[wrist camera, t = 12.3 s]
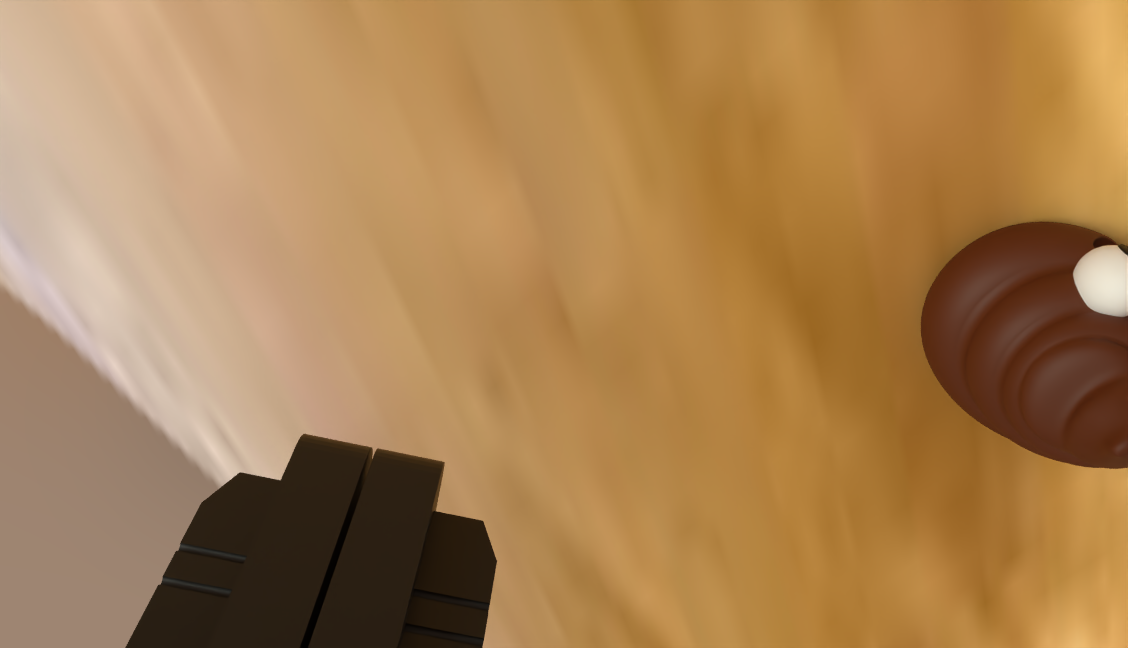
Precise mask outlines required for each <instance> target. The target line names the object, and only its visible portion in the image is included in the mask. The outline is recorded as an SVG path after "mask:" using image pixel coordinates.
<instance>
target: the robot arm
mask: <svg viewBox="0 0 1128 648" xmlns="http://www.w3.org/2000/svg"><path fill="white" fill-rule="evenodd" d="M372 454H373V450H372V448H371V447H367V446H362V445H357V444H352V443H347V442H342V441H337V440H332V439H327V438H322V437H318V436H313V435H308V434H303V435H302V436H301V437H300V439H299V441H298V443H297V445H296V447H295V449H294V451H293V454H292V456H291V458H290V460H289V463H288V465H287V467H286V470H285V472H284V474H283V476H282V479H281V481H280V480H275V479H270V478H266V477H261V476H256V475H251V474H246V473H241V472H240V473H239V474H237V475H236V476H235V477H233V478H232V479H231V480H230V481H228V482H227V483H226V484H225V485H223V486H222V487H221V488H220V489H218V490H217V491H216V492H215V493H213V494H212V495H211V496H210V497H209V498H207V499H206V500H204V501H203V502H202V503H201V505H200V507H199V509H198V511H197V512H196V514H195V516H194V518H193V520H192V522H191V524H190V526H189V528H188V529H187V532H186V533H185V535H184V537H183V539H182V541H181V543H180V548H179V550H178V551H176V552H175V554H174V556H173V558H172V560H171V562H170V564H169V566H168V568H167V569H166V571H165V573H164V575H163V580H162V583H161V585H158V587H157V589H156V590H155V592H154V594H153V596H152V598H151V600H150V602H149V604H148V606H147V608H146V609H145V611H144V613H143V615H142V617H141V619H140V621H139V623H138V625H137V627H136V628H135V630H134V632H133V634H132V636H131V638H130V640H129V642H128V644H127V646H126V648H483V647H482V646H483V641H484V636H485V630H486V624H487V618H488V610H489V605H490V599H491V593H492V587H493V581H494V575H495V569H496V563H497V560H496V557H495V554H494V551H493V549H492V546H491V543H490V540H489V537H488V534H487V531H486V528H485V525H484V522H483V521H481V520H476V519H471V518H466V517H461V516H456V515H451V514H446V513H441V512H436V507H437V502H438V497H439V491H440V486H441V481H442V476H443V470H444V463H445V462H442V461H437V460H432V459H427V458H422V457H417V456H412V455H407V454H403V453H398V452H393V451H388V450H383V449H377V450H376V452H375V454H374V456H373V459H372Z"/></svg>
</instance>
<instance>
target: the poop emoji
mask: <svg viewBox="0 0 1128 648" xmlns="http://www.w3.org/2000/svg"><path fill="white" fill-rule="evenodd" d="M921 336H922V343H923V347H924V351H925V354H926V357H927V360H928V362H929V365H930V367H931V369H932V371H933V373H934V374H935V376H936V378H937V379H938V381H939V382H940V384H941V385H942V387H943V388H944V389H945V391H946V392H947V393H948V394H949V396H950V397H951V398H952V399H953V400H954V401H955V402H956V403H957V404H958V405H959V406H960V407H961V408H962V409H963V410H964V411H966V412H967V413H968V414H969V415H970V416H972V417H973V418H974V419H976V420H977V421H978V422H980V423H981V424H983V425H984V426H986V427H988V428H989V429H991V430H993V431H994V432H996V433H998V434H1000V435H1002V436H1004V437H1006V438H1008V439H1010V440H1011V441H1013V442H1015V443H1016V444H1018V445H1020V446H1021V447H1023V448H1025V449H1027V450H1029V451H1032V452H1034V453H1036V454H1039V455H1041V456H1044V457H1047V458H1050V459H1053V460H1057V461H1060V462H1065V463H1069V464H1073V465H1078V466H1083V467H1093V468H1110V469H1119V468H1127V467H1128V247H1127V246H1125V245H1121V244H1120V245H1118V244H1116V243H1115V242H1114V241H1113V240H1112V239H1110V238H1109V237H1107V236H1105V235H1102V234H1100V233H1097V232H1095V231H1092V230H1089V229H1086V228H1082V227H1078V226H1074V225H1069V224H1063V223H1054V222H1032V223H1023V224H1017V225H1012V226H1008V227H1005V228H1002V229H999V230H996V231H993V232H991V233H989V234H987V235H985V236H983V237H981V238H979V239H977V240H975V241H974V242H972V243H971V244H969V245H968V246H966V247H965V248H964V249H962V250H961V251H960V252H959V253H958V254H956V255H955V256H954V257H953V258H952V259H951V260H950V261H949V262H948V263H947V264H946V266H945V267H944V268H943V269H942V270H941V272H940V273H939V274H938V276H937V277H936V279H935V281H934V282H933V284H932V286H931V288H930V290H929V292H928V294H927V297H926V300H925V303H924V306H923V311H922V317H921Z"/></svg>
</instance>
